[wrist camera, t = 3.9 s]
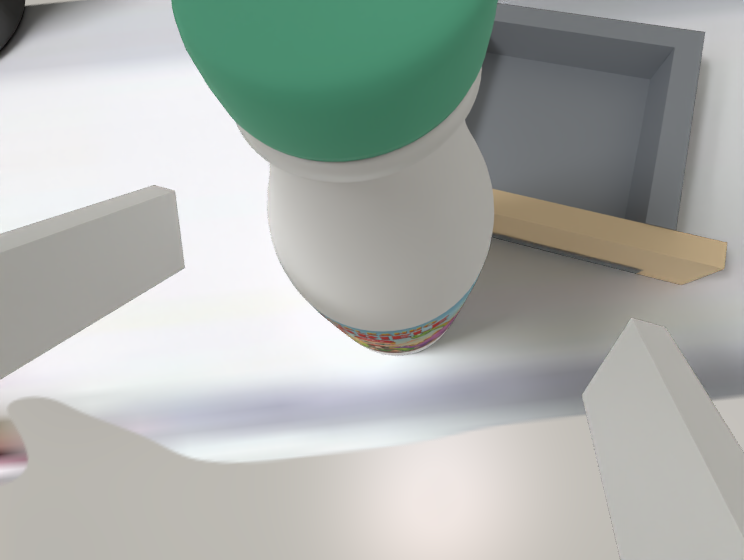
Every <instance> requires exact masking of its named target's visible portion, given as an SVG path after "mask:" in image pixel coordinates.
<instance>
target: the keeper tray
mask: <svg viewBox="0 0 744 560" xmlns="http://www.w3.org/2000/svg"><path fill="white" fill-rule="evenodd" d="M704 36H705V32H701V31H694V30H687V29H679V28H672V27H665V26H658V25H651V24H644V23H637V22H629V21H622V20H615V19H608V18H601V17H594V16H586V15H579V14H572V13H565V12H558V11H551V10H543V9H536V8H529V7H522V6H515V5H508V4H500V3H497V8H496V14H495V19H494V24H493V29H492V32H491V36H490V40H489V44H488V47H487V51H486V55H485V58H484V61H483V64H482V72H481V81H480V86H479V90H478V93H477V96H476V99H475V102H474V104H473V106H472V108H471V110H470V112H469V114H468V115H467V117H466V119H465V122H466V125H467V127H468V129H469V131H470V133H471V135H472V136H473V138H474V140H475V142H476V144H477V146H478V147H479V149H480V152H481V154H482V156H483V158H484V161H485V163H486V166H487V169H488V173H489V177H490V180H491V184H492V190H493V199H494V225H493V231H492V237H494V238H498V239H502V240H506V241H510V242H514V243H518V244H522V245H526V246H529V247H533V248H537V249H541V250H545V251H549V252H553V253H557V254H561V255H565V256H569V257H573V258H577V259H581V260H585V261H589V262H593V263H597V264H601V265H604V266H608V267H612V268H616V269H620V270H624V271H628V272H632V273H636V274H640V275H644V276H648V277H652V278H656V279H660V280H664V281H668V282H672V283H676V284H680V285H683V284H686V283H688V282H691V281H694V280H696V279H699V278H702V277H704V276H707V275H710V274H712V273H715V272H718V271H721V270H723V269H724V267H725V258H726V250H727V242H722V241H718V240H714V239H709V238H705V237H701V236H696V235H692V234H688V233H683V232H679V231H675V230H676V227H677V220H678V213H679V207H680V200H681V193H682V186H683V179H684V172H685V166H686V159H687V152H688V145H689V138H690V132H691V125H692V118H693V111H694V104H695V97H696V91H697V84H698V77H699V70H700V63H701V57H702V50H703V43H704Z"/></svg>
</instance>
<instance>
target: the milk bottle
mask: <svg viewBox="0 0 744 560" xmlns="http://www.w3.org/2000/svg"><path fill="white" fill-rule="evenodd" d="M171 1H172V9H173V13H174V17H175V21H176V24H177V26H178V29H179V32H180V35H181V38H182V41H183V43H184V45H185V48H186V50H187V52H188V53H189V55H190V57H191V59H192V60H193V62H194V64H195V65H196V67H197V69H198V70H199V72H200V73H201V75H202V77H203V78H204V80H205V82H206V83H207V85H208V86H209V88H210V89H211V91H212V92H213V93H214V95H215V96H216V97H217V99H218V100H219V101H220V103H221V104H222V105H223V107H224V108H225V109H226V111H227V112H228V113H229V115H230V116H231V117H232V118H233V119H234V120H235V122H236V124H237V126H238V128H239V130H240V132H241V133H242V135H243V137H244V138H245V140H246V141H247V142H248V143H249V145H250V146H251V147H252V148H253V149H254V150H255V151H256V152H257V153H258V154H259V155H260V156H262V157H263V158H264V159H265V160H266V161H268V162H269V163H270V174H269V183H268V194H267V214H268V223H269V229H270V235H271V239H272V242H273V245H274V248H275V251H276V254H277V256H278V259H279V261H280V264H281V265H282V267H283V269H284V271H285V273H286V274H287V276H288V277H289V279H290V281H291V282H292V284H293V285H294V286H295V288H296V289H297V290H298V292H299V293H300V294H301V295H302V296H303V297H304V298H305V299H306V300H307V301H308V302H309V303H310V304H311V305H312V306H313V307H314V308H315V309H316V310H317V311H318V312H319V313H320V314H321V315H322V316H323V317H325V318H326V319H327V320H328V321H330V322H331V323H332V324H333V325H335V326H336V327H337V328H338V329H340V330H341V331H342V332H344V333H345V334H346V335H348V336H349V337H350V338H352V339H353V340H354V341H356V342H357V343H358V344H360V345H362V346H363V347H365V348H367V349H369V350H371V351H374V352H377V353H380V354H384V355H393V356H399V355H408V354H412V353H416V352H419V351H421V350H423V349H425V348H427V347H429V346H430V345H432V344H433V343H435V342H436V341H437V340H438V339H439V338H440V337H441V336H442V335H443V334H444V333H445V332H446V331H447V330H448V328H449V327H450V325H451V324H452V322H453V321H454V319H455V318H456V316H457V314H458V313H459V311H460V309H461V308H462V306H463V304H464V302H465V301H466V299H467V297H468V295H469V294H470V292H471V290H472V288H473V286H474V285H475V283H476V281H477V278H478V276H479V274H480V272H481V269H482V267H483V264H484V262H485V260H486V257H487V254H488V251H489V248H490V242H491V237H492V231H493V225H494V199H493V190H492V184H491V180H490V177H489V173H488V169H487V166H486V163H485V161H484V158H483V156H482V154H481V152H480V149H479V147H478V146H477V144H476V142H475V140H474V138H473V136H472V135H471V133H470V131H469V129H468V127H467V125H466V122H465V119H466V117H467V115H468V114H469V112H470V110H471V108H472V106H473V104H474V102H475V99H476V96H477V93H478V90H479V86H480V81H481V72H482V64H483V61H484V58H485V55H486V51H487V47H488V44H489V40H490V36H491V32H492V29H493V24H494V19H495V14H496V8H497V2H498V0H171Z"/></svg>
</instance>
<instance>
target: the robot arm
mask: <svg viewBox="0 0 744 560" xmlns="http://www.w3.org/2000/svg"><path fill="white" fill-rule="evenodd" d="M24 6H25V0H0V50H1V48H2V47H3V46H4V45H5V44H6V43H7V41H8V40H9V39H10V37H11V36H12V35H13V33H14V31H15V30H16V28H17V26H18V24H19V22H20V20H21V17H22V14H23V11H24ZM184 268H185V265H184V258H183V250H182V242H181V234H180V226H179V218H178V211H177V203H176V195H175V191H174V190H170V189H167V188H163V187H159V186H156V185H153V186H150V187H147V188H143V189H140V190H137V191H134V192H131V193H128V194H124V195H121V196H118V197H115V198H112V199H109V200H106V201H102V202H99V203H96V204H93V205H90V206H87V207H84V208H80V209H77V210H74V211H71V212H68V213H65V214H62V215H58V216H55V217H52V218H49V219H46V220H43V221H40V222H36V223H33V224H30V225H27V226H24V227H21V228H17V229H14V230H11V231H8V232H5V233H2V234H0V379H2V378H4V377H5V376H7V375H9V374H10V373H12V372H14V371H15V370H17V369H19V368H20V367H22V366H24V365H25V364H27V363H29V362H30V361H32V360H33V359H35V358H37V357H38V356H40V355H42V354H43V353H45V352H47V351H48V350H50V349H52V348H53V347H55V346H57V345H58V344H60V343H62V342H63V341H65V340H66V339H68V338H70V337H71V336H73V335H75V334H76V333H78V332H80V331H81V330H83V329H85V328H86V327H88V326H90V325H91V324H93V323H95V322H96V321H98V320H100V319H101V318H103V317H104V316H106V315H108V314H109V313H111V312H113V311H114V310H116V309H118V308H119V307H121V306H123V305H124V304H126V303H128V302H129V301H131V300H133V299H134V298H136V297H138V296H139V295H141V294H142V293H144V292H146V291H147V290H149V289H151V288H152V287H154V286H156V285H157V284H159V283H161V282H162V281H164V280H166V279H167V278H169V277H171V276H172V275H174V274H176V273H177V272H179V271H180V270H182V269H184ZM582 398H583V403H584V407H585V411H586V415H587V420H588V424H589V428H590V433H591V437H592V441H593V445H594V450H595V454H596V458H597V462H598V467H599V471H600V475H601V480H602V484H603V488H604V492H605V497H606V501H607V505H608V510H609V514H610V518H611V522H612V527H613V531H614V535H615V540H616V544H617V548H618V552H619V557H620V560H744V452H743V450H742V449H741V447H740V445H739V444H738V442H737V441H736V439H735V437H734V436H733V434H732V433H731V431H730V429H729V428H728V426H727V425H726V423H725V421H724V420H723V419H722V417H721V415H720V414H719V412H718V410H717V409H716V407H715V406H714V404H713V402H712V401H711V399H710V397H709V396H708V394H707V393H706V391H705V389H704V388H703V386H702V385H701V383H700V381H699V380H698V378H697V377H696V375H695V373H694V372H693V370H692V369H691V367H690V365H689V364H688V362H687V361H686V359H685V357H684V356H683V354H682V353H681V351H680V350H679V348H678V346H677V345H676V343H675V342H674V340H673V338H672V337H671V335H670V334H669V332H668V330H667V329H666V327H663V326H660V325H656V324H653V323H649V322H645V321H642V320H638V319H635V318H631V319H630V320H629V322H628V323H627V325H626V327H625V328H624V330H623V331H622V333H621V334H620V336H619V338H618V339H617V341H616V342H615V344H614V345H613V347H612V349H611V350H610V352H609V353H608V355H607V356H606V358H605V359H604V361H603V363H602V364H601V366H600V367H599V369H598V370H597V372H596V374H595V375H594V377H593V378H592V380H591V381H590V383H589V385H588V386H587V388H586V389H585V391H584V392H583V394H582Z"/></svg>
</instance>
